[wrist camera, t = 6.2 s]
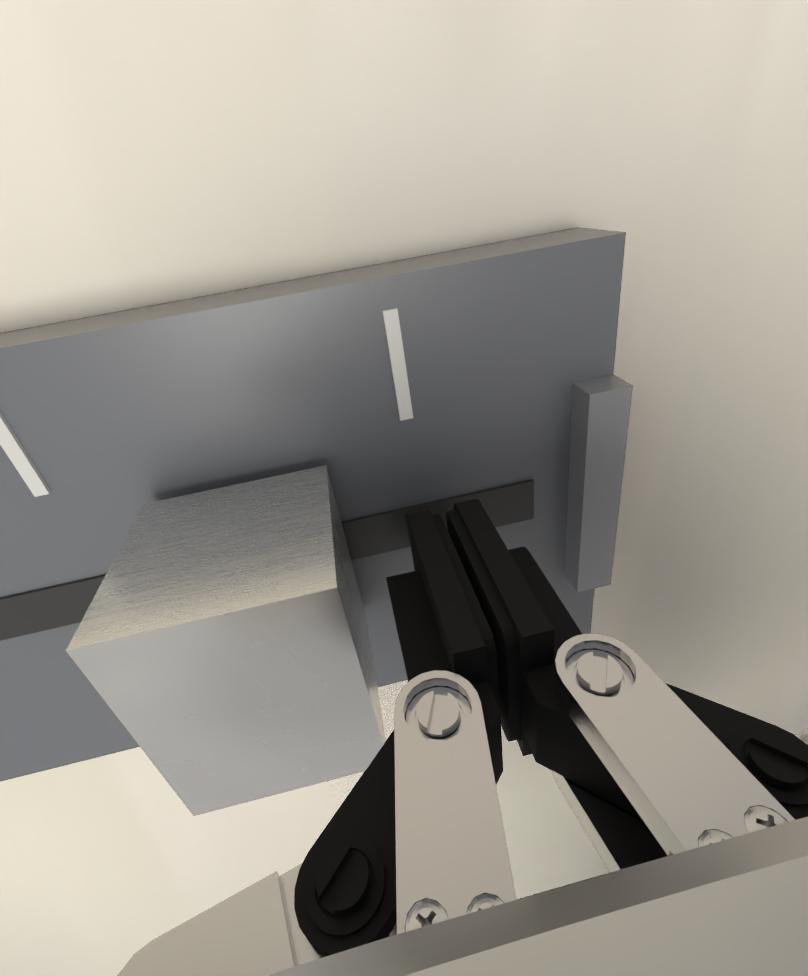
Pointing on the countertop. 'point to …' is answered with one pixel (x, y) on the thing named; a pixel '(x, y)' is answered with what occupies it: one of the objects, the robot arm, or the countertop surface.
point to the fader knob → (237, 642)
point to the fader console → (308, 439)
